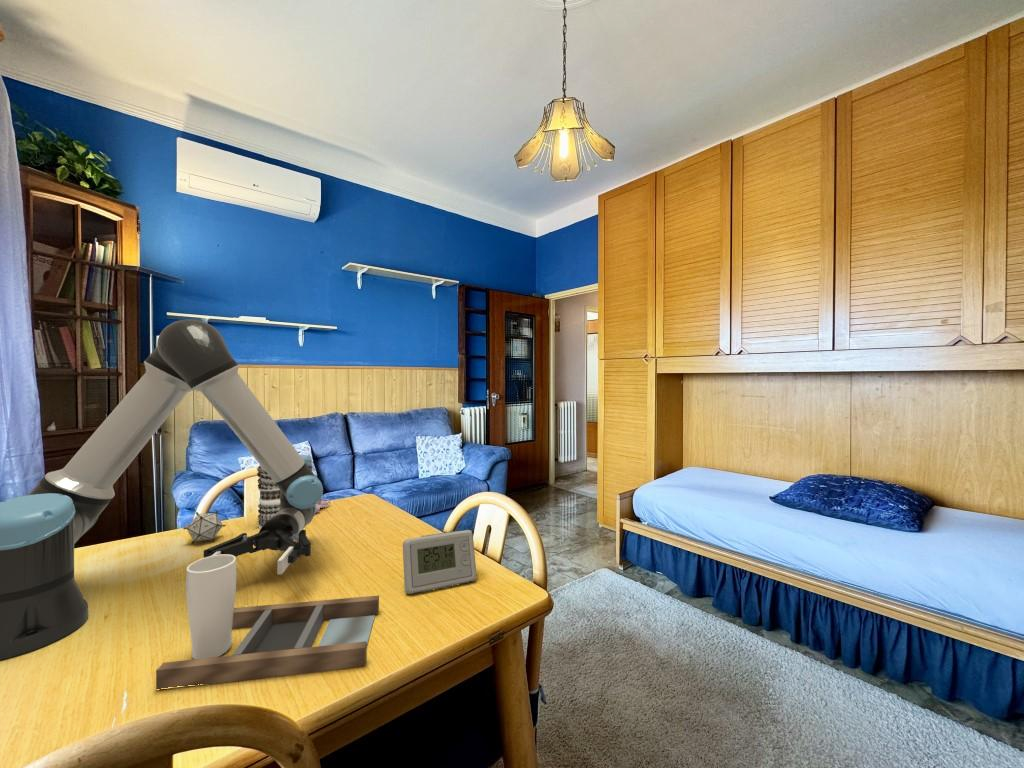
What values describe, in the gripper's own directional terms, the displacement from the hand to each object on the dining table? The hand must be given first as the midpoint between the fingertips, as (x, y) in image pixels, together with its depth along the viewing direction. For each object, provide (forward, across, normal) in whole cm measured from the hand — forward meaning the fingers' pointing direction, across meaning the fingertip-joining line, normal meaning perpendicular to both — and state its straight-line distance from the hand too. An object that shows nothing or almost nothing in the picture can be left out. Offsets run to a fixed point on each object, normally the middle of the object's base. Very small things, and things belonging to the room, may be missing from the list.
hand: (240, 570), depth 77 cm
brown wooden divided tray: (+10, -11, -9) cm, 18 cm away
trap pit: (+10, -11, -9) cm, 18 cm away
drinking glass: (+10, 0, -9) cm, 13 cm away
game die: (-41, +26, -9) cm, 50 cm away
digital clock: (-6, -37, -9) cm, 39 cm away
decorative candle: (-51, +12, -9) cm, 53 cm away
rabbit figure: (-61, +4, -9) cm, 62 cm away
